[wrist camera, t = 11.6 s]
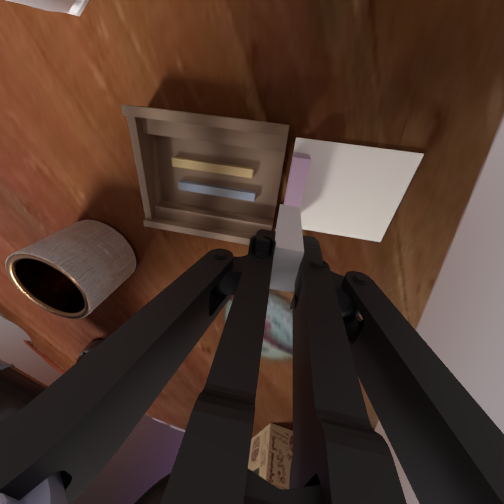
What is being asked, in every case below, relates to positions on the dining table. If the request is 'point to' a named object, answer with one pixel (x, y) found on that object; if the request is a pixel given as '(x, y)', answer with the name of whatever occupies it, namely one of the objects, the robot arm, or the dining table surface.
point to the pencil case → (207, 171)
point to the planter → (73, 268)
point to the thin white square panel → (348, 186)
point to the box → (272, 455)
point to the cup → (57, 5)
